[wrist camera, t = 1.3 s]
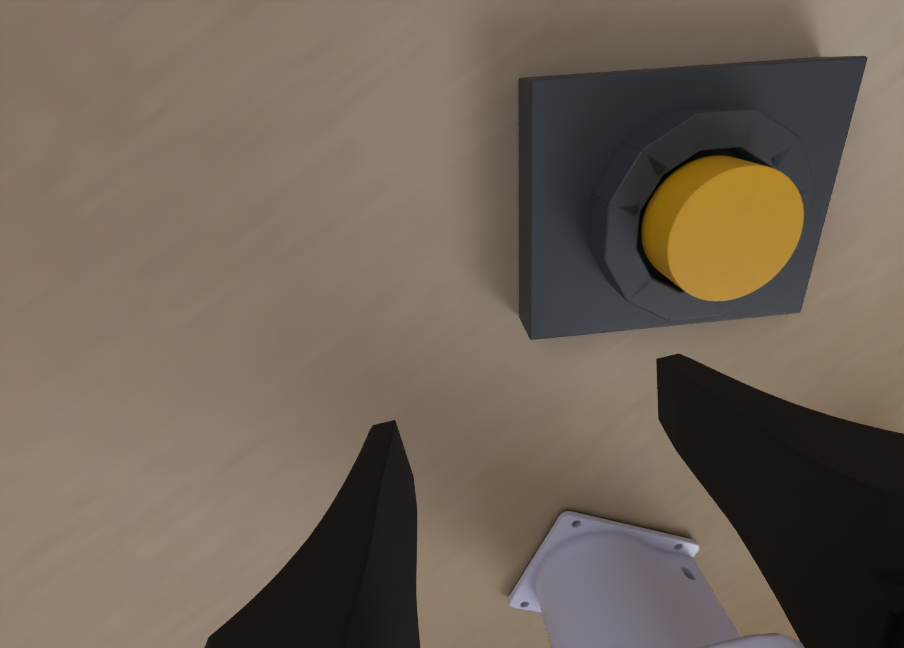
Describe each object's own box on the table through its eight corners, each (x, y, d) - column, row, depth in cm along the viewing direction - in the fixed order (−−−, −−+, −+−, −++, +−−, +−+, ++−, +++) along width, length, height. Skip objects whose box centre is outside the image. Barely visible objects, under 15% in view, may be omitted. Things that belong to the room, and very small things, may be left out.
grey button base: (823, 57, 20) (915, 54, 17) (768, 293, 25) (831, 332, 21) (518, 78, 20) (546, 80, 16) (518, 318, 24) (540, 362, 20)
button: (777, 149, 18) (820, 159, 16) (751, 274, 20) (786, 295, 18) (648, 160, 18) (677, 171, 16) (634, 285, 20) (659, 308, 18)
